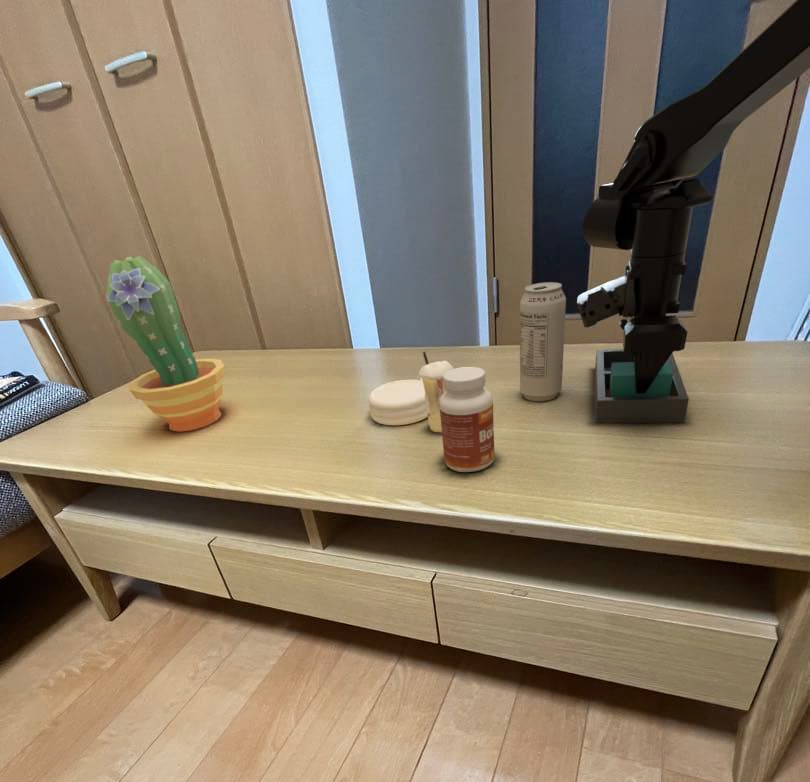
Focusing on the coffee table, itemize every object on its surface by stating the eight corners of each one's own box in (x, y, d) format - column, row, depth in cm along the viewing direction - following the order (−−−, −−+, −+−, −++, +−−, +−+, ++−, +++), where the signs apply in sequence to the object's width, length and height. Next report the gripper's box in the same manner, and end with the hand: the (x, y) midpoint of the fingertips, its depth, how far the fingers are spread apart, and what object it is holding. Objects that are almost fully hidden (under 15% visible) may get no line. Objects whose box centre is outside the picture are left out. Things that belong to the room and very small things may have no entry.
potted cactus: (129, 438, 86) (47, 272, 71) (189, 401, 97) (129, 251, 82) (202, 442, 80) (131, 263, 65) (257, 402, 91) (206, 242, 77)
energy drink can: (570, 394, 76) (576, 284, 67) (536, 406, 74) (538, 294, 66) (544, 384, 81) (546, 279, 72) (512, 394, 79) (510, 288, 70)
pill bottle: (490, 475, 61) (486, 383, 54) (439, 473, 63) (429, 384, 56) (498, 450, 65) (496, 363, 59) (451, 449, 67) (443, 364, 61)
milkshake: (444, 416, 76) (438, 347, 70) (463, 428, 72) (458, 355, 66) (417, 425, 75) (408, 355, 69) (435, 437, 70) (427, 365, 65)
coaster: (357, 419, 79) (353, 397, 77) (401, 396, 85) (398, 374, 83) (405, 432, 73) (401, 408, 71) (449, 406, 79) (447, 383, 77)
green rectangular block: (664, 386, 70) (668, 360, 68) (668, 400, 66) (673, 374, 64) (609, 387, 72) (611, 362, 70) (610, 401, 68) (612, 375, 66)
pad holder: (594, 369, 83) (596, 350, 81) (666, 367, 80) (670, 346, 78) (595, 423, 68) (597, 400, 66) (684, 422, 65) (689, 398, 63)
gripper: (584, 246, 69) (577, 363, 78) (582, 276, 55) (573, 415, 64) (677, 237, 65) (658, 360, 74) (700, 266, 51) (673, 414, 60)
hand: (639, 385), depth 68 cm, fingers closed on green rectangular block, 5 cm apart
